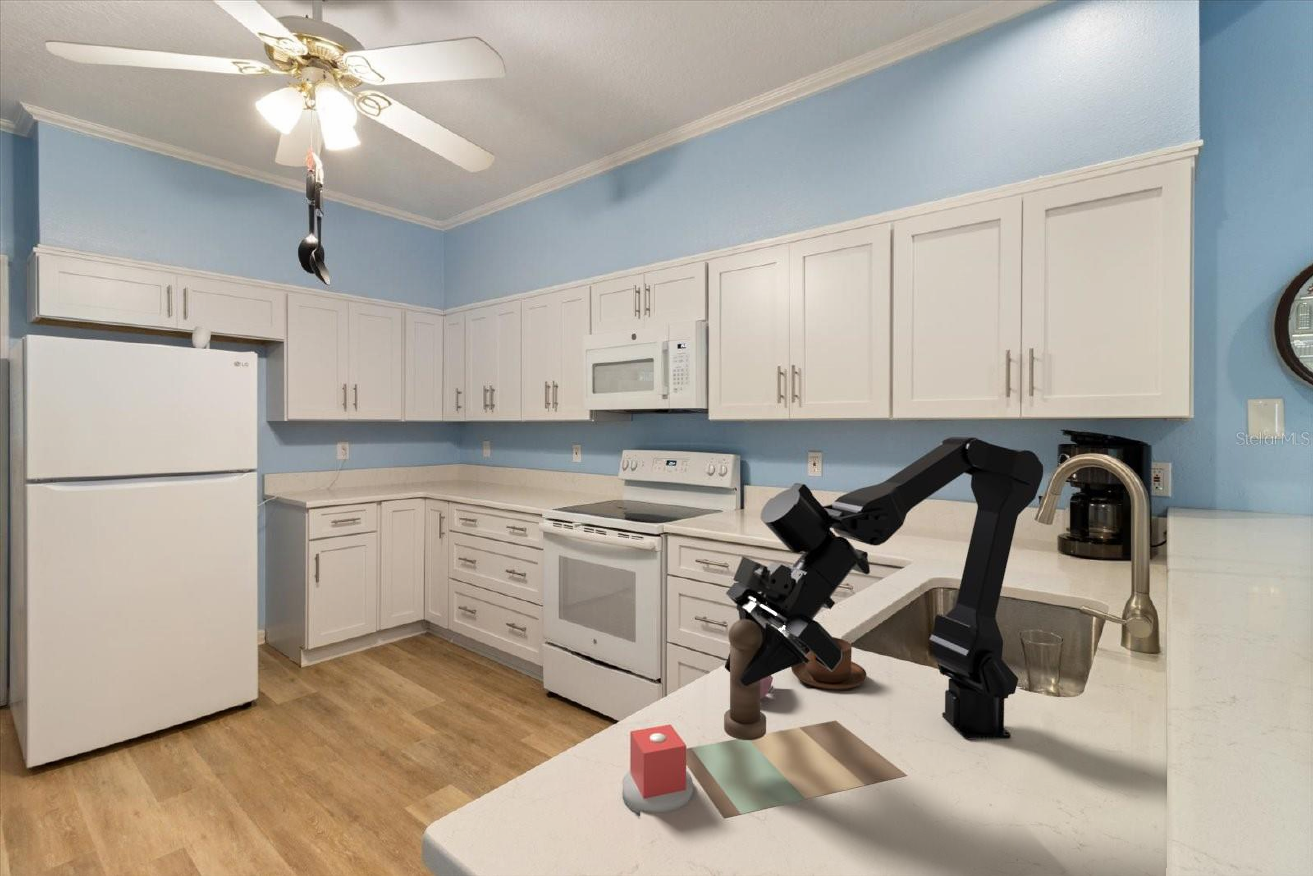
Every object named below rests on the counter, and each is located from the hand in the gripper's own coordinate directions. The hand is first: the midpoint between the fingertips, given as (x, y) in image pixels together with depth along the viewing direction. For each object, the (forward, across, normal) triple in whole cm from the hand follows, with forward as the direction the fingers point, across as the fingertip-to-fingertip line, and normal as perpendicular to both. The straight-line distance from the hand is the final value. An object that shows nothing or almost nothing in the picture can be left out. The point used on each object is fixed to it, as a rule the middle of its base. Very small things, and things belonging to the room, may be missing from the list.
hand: (734, 676), depth 72 cm
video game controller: (0, -19, +18) cm, 26 cm away
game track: (+4, 0, +14) cm, 14 cm away
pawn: (+4, 0, +6) cm, 7 cm away
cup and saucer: (-10, -20, +28) cm, 36 cm away
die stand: (+16, 0, +2) cm, 16 cm away
